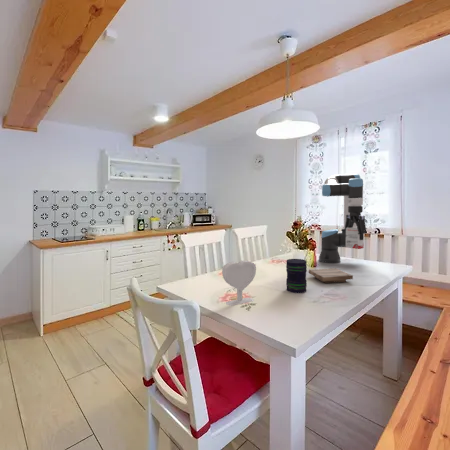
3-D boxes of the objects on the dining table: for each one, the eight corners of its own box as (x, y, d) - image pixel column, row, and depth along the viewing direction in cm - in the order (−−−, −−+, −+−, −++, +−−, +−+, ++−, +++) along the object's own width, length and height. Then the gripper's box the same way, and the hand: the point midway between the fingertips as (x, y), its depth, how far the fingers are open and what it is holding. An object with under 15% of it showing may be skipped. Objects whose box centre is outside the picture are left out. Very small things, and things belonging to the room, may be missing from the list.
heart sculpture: (227, 306, 115) (226, 265, 114) (221, 302, 120) (221, 262, 118) (257, 300, 122) (257, 260, 121) (251, 296, 127) (250, 259, 125)
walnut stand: (308, 276, 160) (308, 269, 160) (335, 274, 163) (335, 268, 162) (323, 284, 143) (323, 277, 143) (352, 282, 146) (352, 275, 146)
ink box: (363, 248, 156) (364, 227, 155) (360, 249, 152) (360, 228, 151) (349, 246, 162) (349, 226, 161) (345, 247, 159) (345, 227, 158)
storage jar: (301, 286, 141) (301, 258, 140) (310, 292, 131) (310, 262, 130) (283, 287, 139) (283, 259, 138) (290, 293, 130) (290, 263, 129)
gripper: (338, 205, 166) (337, 241, 167) (361, 206, 144) (361, 247, 146) (349, 205, 167) (349, 241, 169) (374, 205, 145) (373, 246, 147)
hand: (354, 244), depth 157 cm, fingers closed on ink box, 9 cm apart
